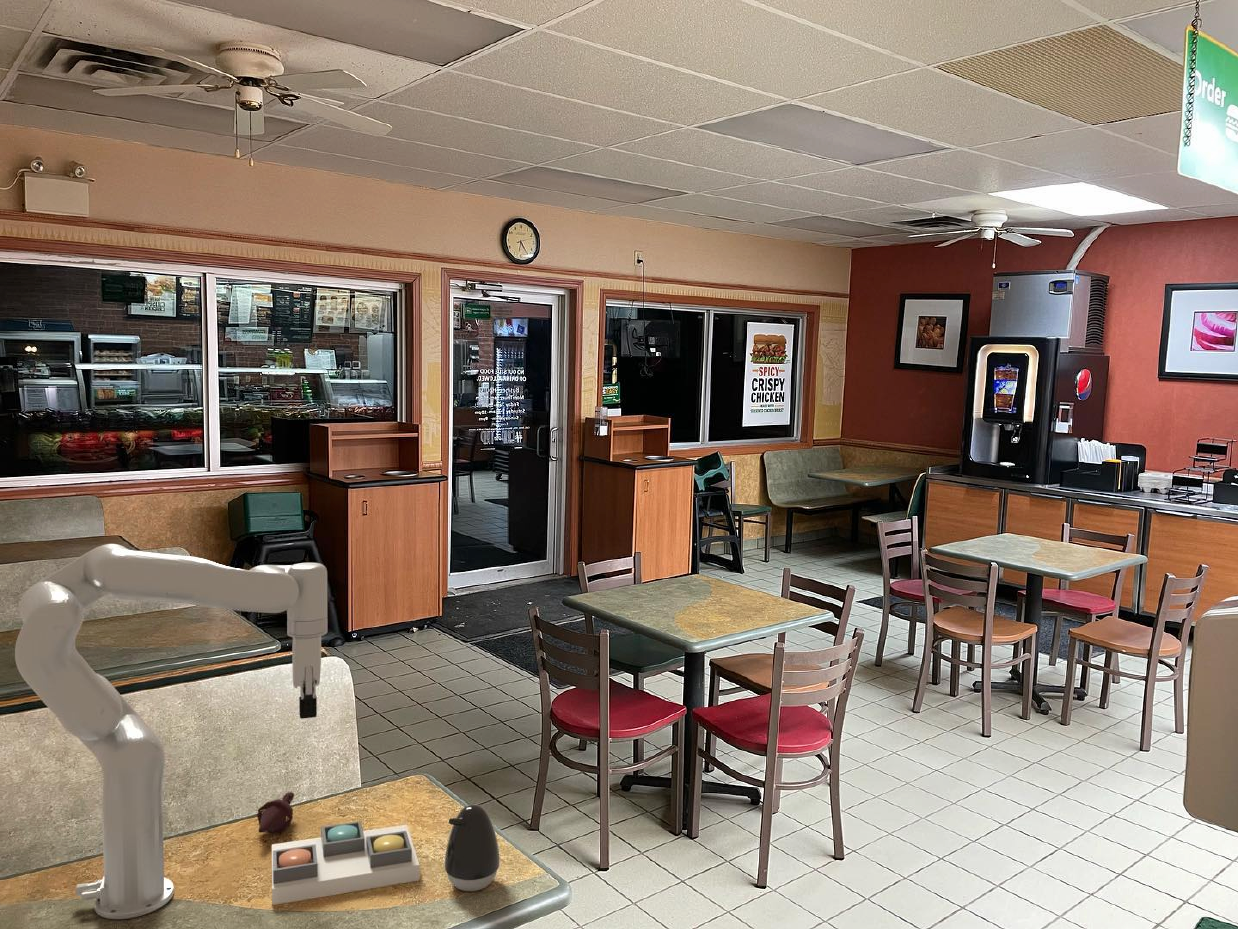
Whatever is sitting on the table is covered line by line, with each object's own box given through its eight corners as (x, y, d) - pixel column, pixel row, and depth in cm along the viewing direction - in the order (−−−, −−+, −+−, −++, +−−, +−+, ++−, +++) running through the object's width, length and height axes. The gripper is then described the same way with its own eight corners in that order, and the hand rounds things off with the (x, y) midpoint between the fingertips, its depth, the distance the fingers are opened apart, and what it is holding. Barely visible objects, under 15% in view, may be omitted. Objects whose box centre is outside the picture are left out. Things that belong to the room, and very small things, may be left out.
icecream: (282, 819, 183) (310, 793, 198) (247, 809, 183) (277, 783, 198) (272, 853, 183) (301, 824, 198) (237, 842, 183) (269, 814, 198)
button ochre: (375, 863, 172) (375, 851, 172) (372, 849, 178) (372, 837, 177) (405, 858, 174) (405, 846, 174) (401, 845, 180) (401, 833, 179)
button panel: (272, 905, 164) (272, 875, 163) (271, 859, 179) (271, 832, 179) (419, 880, 173) (419, 852, 172) (406, 838, 189) (406, 813, 188)
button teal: (328, 852, 176) (328, 840, 176) (326, 839, 181) (326, 827, 181) (358, 848, 178) (358, 836, 178) (356, 835, 183) (356, 823, 183)
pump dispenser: (432, 884, 172) (432, 806, 170) (476, 864, 179) (477, 789, 178) (466, 906, 165) (466, 824, 163) (510, 884, 172) (511, 806, 171)
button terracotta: (279, 879, 166) (279, 866, 166) (278, 864, 172) (278, 851, 171) (311, 874, 168) (311, 861, 168) (310, 859, 174) (310, 847, 173)
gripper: (286, 618, 186) (287, 706, 188) (288, 637, 172) (288, 732, 174) (325, 615, 189) (325, 702, 190) (329, 634, 175) (330, 727, 176)
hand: (308, 716), depth 182 cm, fingers closed
